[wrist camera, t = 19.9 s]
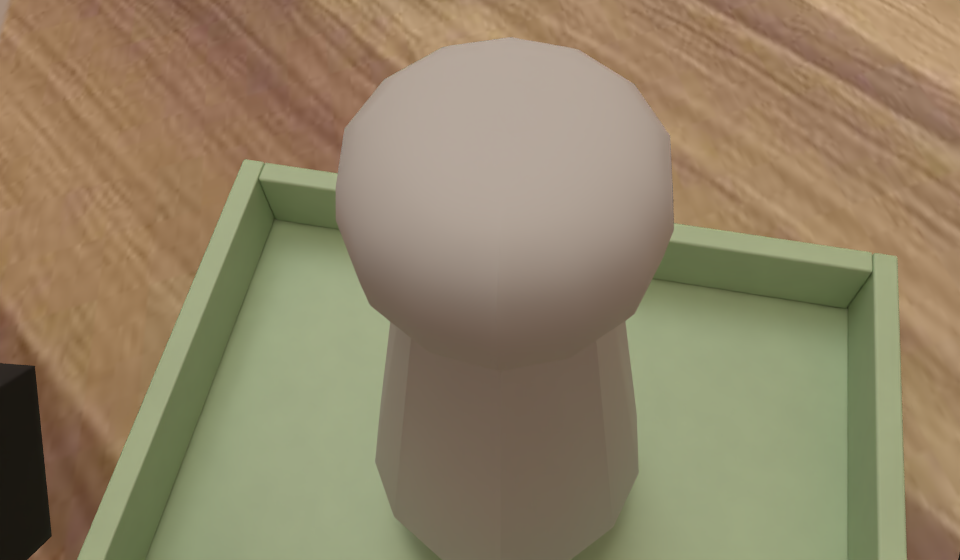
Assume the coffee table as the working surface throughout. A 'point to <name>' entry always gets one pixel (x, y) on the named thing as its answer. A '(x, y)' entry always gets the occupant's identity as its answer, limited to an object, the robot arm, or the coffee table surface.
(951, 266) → the coffee table surface
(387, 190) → the salt shaker
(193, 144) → the coffee table surface
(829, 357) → the tray
